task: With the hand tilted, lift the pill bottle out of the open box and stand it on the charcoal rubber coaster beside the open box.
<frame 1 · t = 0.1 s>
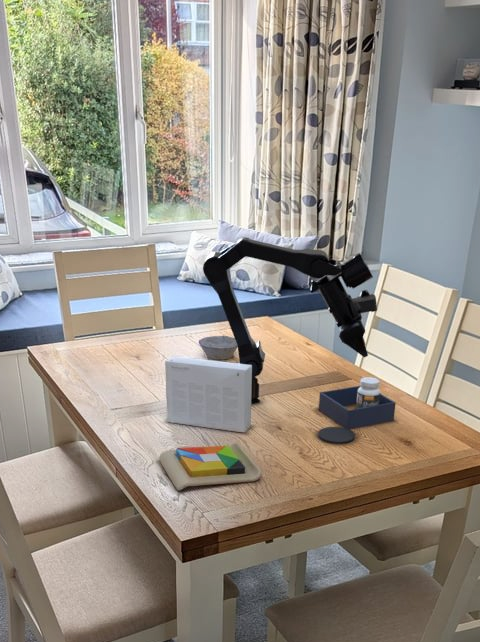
hand: (364, 350, 194), 15 cm above the table, tool tilted 30°, fingers open, 9 cm apart
bowl: (219, 356, 236), on the table
pill bottle: (366, 417, 194), resting in open box
open box: (355, 415, 194), on the table
skincare box: (209, 424, 189), on the table
wooden puzzle: (209, 470, 166), on the table
coaster: (336, 436, 183), on the table
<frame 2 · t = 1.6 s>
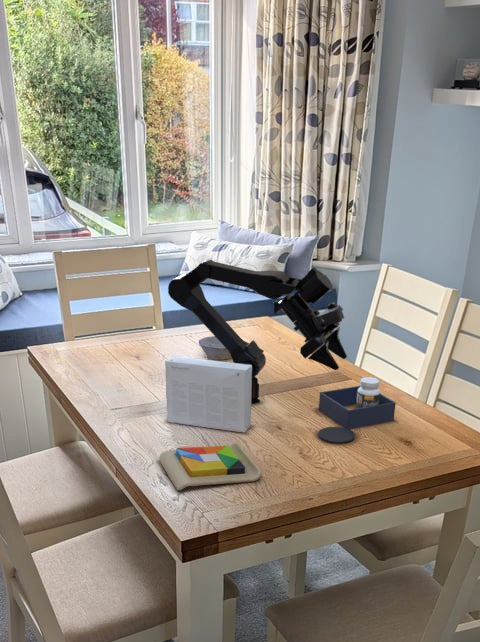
hand: (341, 363, 189), 13 cm above the table, tool tilted 45°, fingers open, 9 cm apart
nothing on the table moved.
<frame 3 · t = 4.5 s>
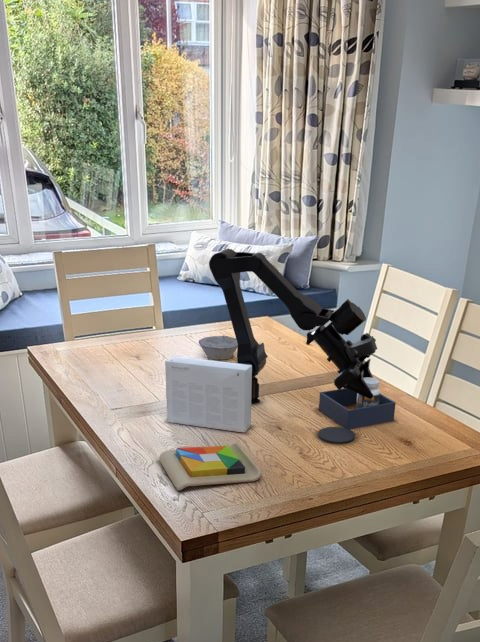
hand: (374, 393, 190), 7 cm above the table, tool tilted 45°, fingers closed on pill bottle, 5 cm apart
pill bottle: (366, 417, 194), resting in open box, touching gripper
everything else where it was.
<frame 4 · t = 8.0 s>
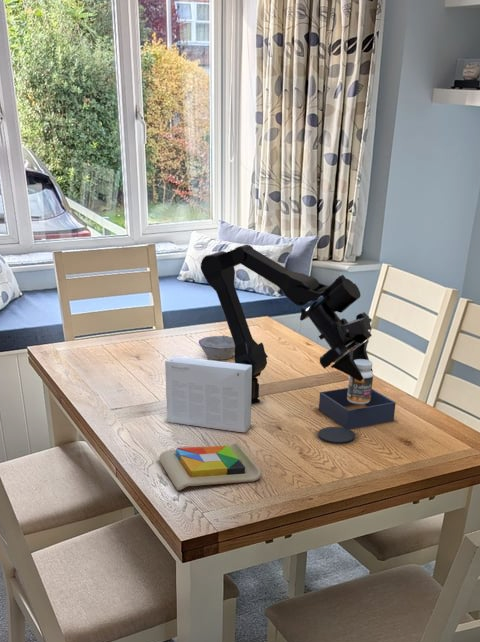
hand: (366, 376, 181), 13 cm above the table, tool tilted 45°, fingers closed on pill bottle, 5 cm apart
pill bottle: (358, 401, 185), point 6 cm above the table, touching gripper
everything else where it was.
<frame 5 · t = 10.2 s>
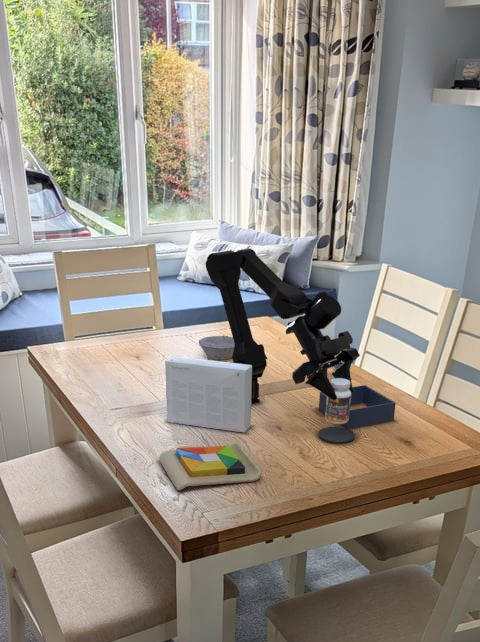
hand: (343, 396, 177), 11 cm above the table, tool tilted 45°, fingers closed on pill bottle, 5 cm apart
pill bottle: (336, 421, 181), point 4 cm above the table, touching gripper
everything else where it was.
when the fingers open (7 cm above the table, at t = 11.7 s): pill bottle stays where it is, resting on coaster.
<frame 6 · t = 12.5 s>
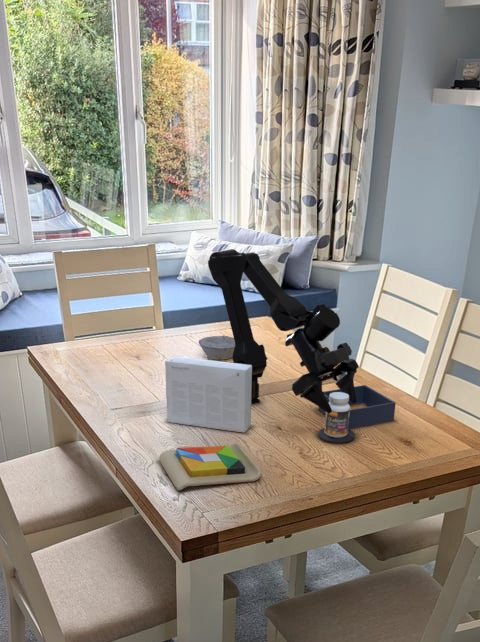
hand: (343, 407, 178), 8 cm above the table, tool tilted 45°, fingers open, 9 cm apart
pill bottle: (336, 434, 183), resting on coaster
everything else where it was.
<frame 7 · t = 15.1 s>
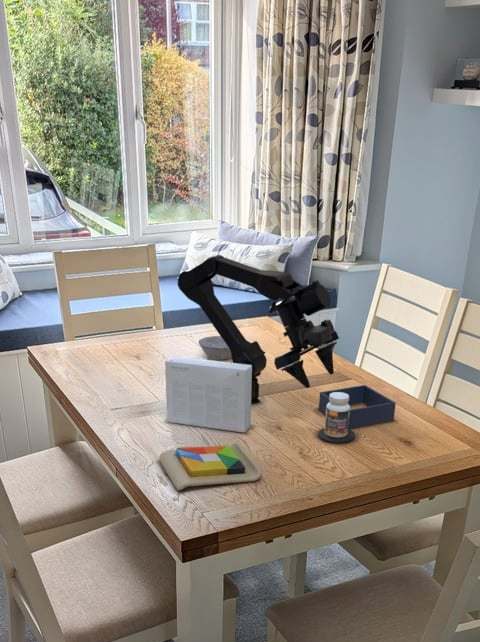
hand: (320, 380, 188), 10 cm above the table, tool tilted 30°, fingers open, 9 cm apart
nothing on the table moved.
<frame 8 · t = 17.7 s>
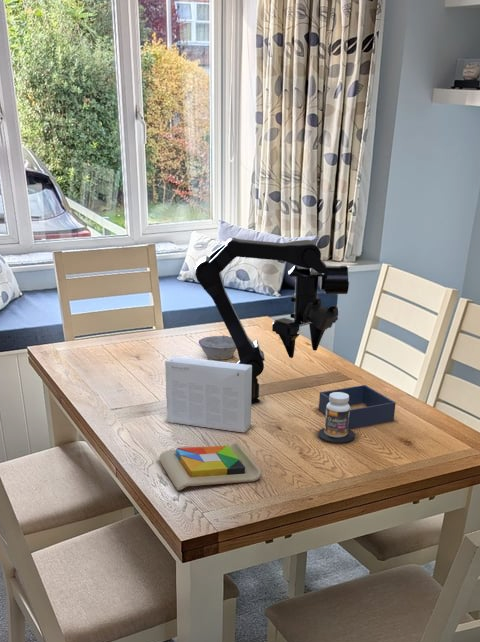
hand: (303, 353, 197), 13 cm above the table, tool pointing down, fingers open, 9 cm apart
nothing on the table moved.
at the end: pill bottle inside the target area on the coaster (0.2 cm from its centre), point 0.4 cm above the coaster's base; pill bottle tilted 0°; the gripper is holding nothing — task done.
